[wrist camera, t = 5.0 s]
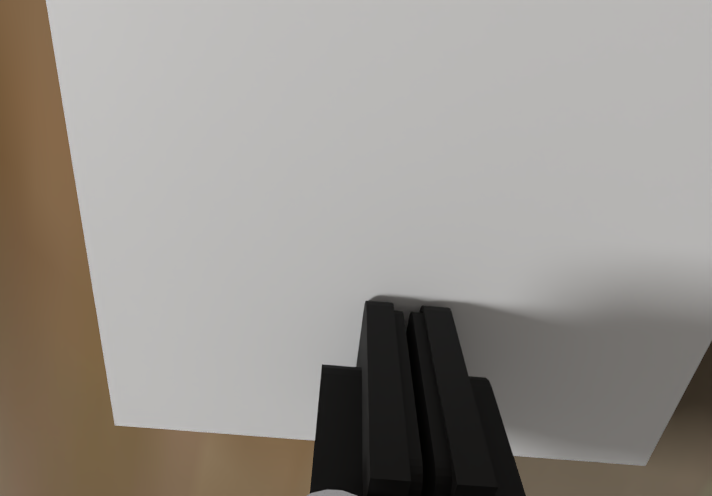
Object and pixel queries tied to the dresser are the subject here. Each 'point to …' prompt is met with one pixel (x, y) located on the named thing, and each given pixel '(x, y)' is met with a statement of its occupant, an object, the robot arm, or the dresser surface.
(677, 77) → the grey plank
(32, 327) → the dresser surface
